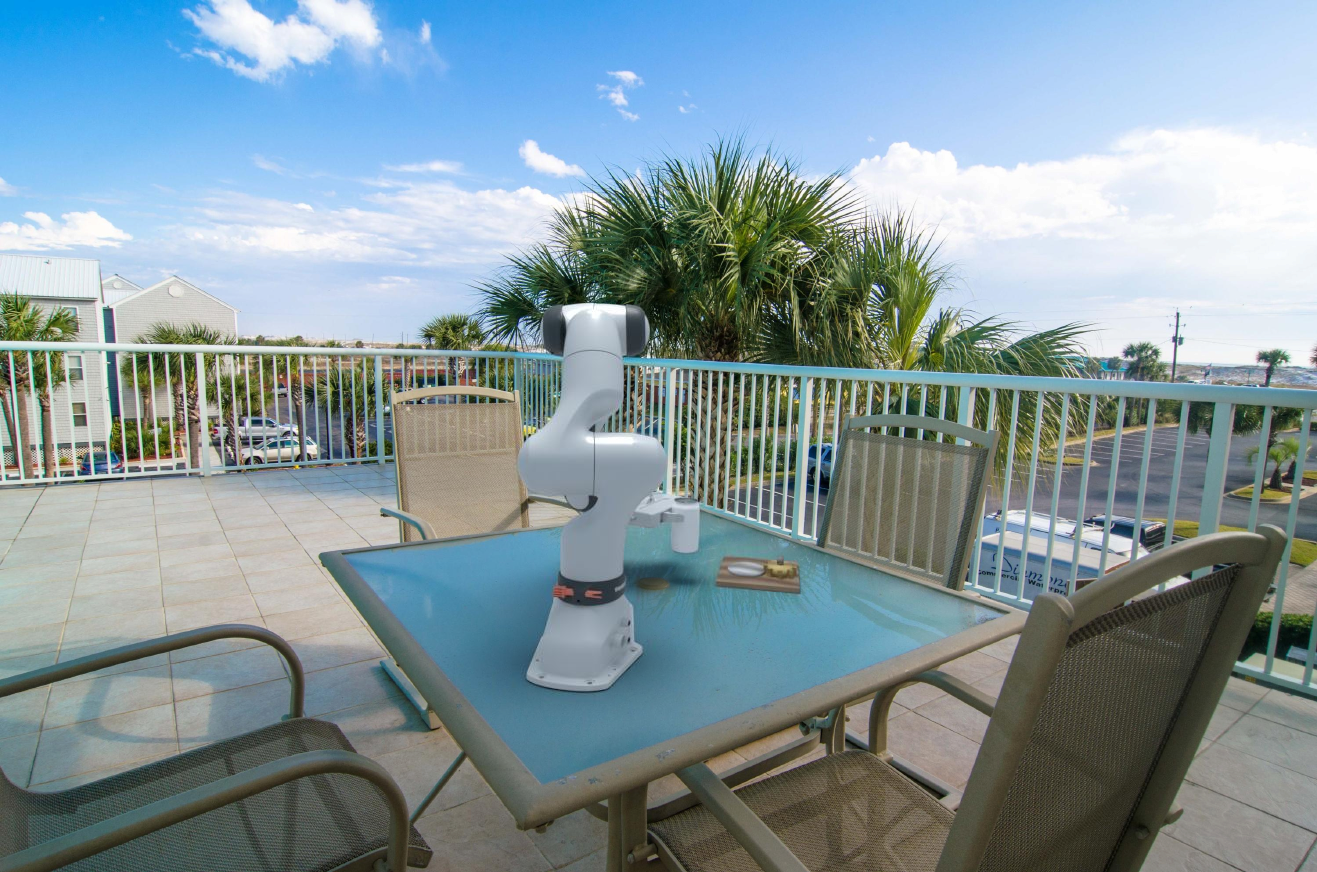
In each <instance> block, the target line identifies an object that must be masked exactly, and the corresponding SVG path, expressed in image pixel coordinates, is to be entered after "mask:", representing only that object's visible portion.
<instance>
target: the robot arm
mask: <svg viewBox="0 0 1317 872" xmlns="http://www.w3.org/2000/svg"><path fill="white" fill-rule="evenodd" d="M650 333H651V331H650V323H649V319H648V317H647V315H646V313H645V311H644V309H642V307H640V306H638V305H634V304H628V303H627V304H625V305H622V304H612V303H611V304H610V303H594V302H584V303H574V304H567V305H563V304H557V305H552V306H550V307H548V308H546V310H545V311H544V312H543V315H542V319H541V322H540V325H539V334H540V338H541V343H542V344H543V346H544V349H545V350H546V352H547V353H549V354H550V355H551V356H554V357H555V356H556V357H561V358H562V377H561V378H562V381H561V382H562V383H561V392H560V398H559V403H558V405H557V408H556V410H555V412H554V413H553V415H552V417H551V418H550V420H548V422H547V423H546V424H545V425H544V426H543V427H542V428H540V429H539V430H538V431H537V432H535V433H534V434H532V435H530V436H529V437H528V438H527V439H526V440H525V441H524V442H523V444H522V445H521V447H520V449H519V452H518V455H517V458H516V459H517V461H516V462H517V463H516V464H517V465H516V466H517V472H518V475H519V478H520V480H521V482H522V484H523V485H524V487H526V488H527V489H528V490H529V491H531V492H536V493H541V494H546V495H550V496H564V499H565V501H566V504H568V505H569V506H570V507H571V508H572V509H573V510H575V511H577V512H579V514H578V515H576V516H574V517H573V518H572V519H570V520H568V522H567V523H565V525H564V526H563V527H562V530H561V533H560V569H559V570H558V573H557V579H556V584H555V585H554V586H553V590H552V597H553V601H552V602H553V603H552V605H551V608H550V611H549V615H548V619H547V621H546V624H545V628H544V631H543V635H542V636H541V638H540V640H539V642H538V645H537V648H536V649H535V652H534V654H533V657H532V659H531V661H530V664H529V666H528V669H527V672H526V677H525V679H526V680H527V681H529V682H530V683H532V684H535V685H538V686H542V687H545V688H551V689H557V690H562V691H564V690H565V691H571V692H595V691H602V690H607V689H609V688H610V687H611V686H612V685H614V683H615V682H616V681H617V680H618V679H619V678H620V677H621V676H622V675H623V674H624V673H625V672H626V671H627V669H628V668H629V667H630V666H632V664H633V663H634V662H635V661H636V660H637V659H638V658H639V657H640V656H641V655H642V654H643V646H642V645H641V644H639V643H638V642H636V641H635V627H634V626H635V624H634V622H635V621H634V606H633V605H632V603H631V602H630V601H629V600H628V599H627V597H626V595H625V592H626V584H627V578H626V571H625V569H624V554H625V553H624V552H625V542H626V534H627V529H628V527H629V526H630V527H636V528H644V529H655V528H658V527H660V526H661V525H664V524H666V523H672V522H684V515H682V514H676V513H672V505H673V503H674V499H675V498H681V497H682V496H678V495H673V494H668V493H660V491H659V490H657V489H658V488H660V486H661V485H662V484H663V482H664V480H665V478H666V475H667V471H668V456H667V454H666V451H665V449H664V446H663V445H662V443H661V442H660V441H659V440H658V439H657V438H656V437H653V436H650V435H649V436H648V435H644V434H640V433H634V432H607V431H606V432H604V431H603V432H601V431H602V429H603V426H604V425H605V423H606V422H607V420H608V419H609V418H610V417H611V416H612V415H614V414H615V413H616V412H617V411H618V410H619V409H620V407H621V406H622V405H623V402H624V396H625V395H624V388H625V387H624V384H625V382H624V381H625V377H624V372H625V371H624V362H623V361H624V360H623V359H624V358H623V357H624V356H626V357H627V358H628V357H635V356H638V355H640V354H641V353H642V352H644V351H645V349H646V347H647V344H648V342H649V338H650Z"/></svg>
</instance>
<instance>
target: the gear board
mask: <svg viewBox="0 0 1317 872" xmlns="http://www.w3.org/2000/svg"><path fill="white" fill-rule="evenodd" d="M784 559H785V556H784V555H781V554H778V555H776V559H768V558H756V557H755V558H754V557H744V556H733V555H732V556H731V555H723V557H722V560H721V564H720V566H719V570H718V573H717V576H716V580H715V587H721V588H722V587H723V588H734V589H735V588H736V589H745V590H747V589H748V590H756V591H757V590H758V591H766V592H767V591H768V592H779V593H780V592H781V593H788V594H791V593H792V594H800V592H801V591H800V590H801V588H800V587H801V586H800V573H799V561H793V560H784Z"/></svg>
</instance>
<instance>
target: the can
mask: <svg viewBox="0 0 1317 872" xmlns="http://www.w3.org/2000/svg"><path fill="white" fill-rule="evenodd" d="M680 497H681V498H675V499H674V503H673V505H672V513H676V514H682V515H684V522H670V523H671V526H670V527H671V530H670V533H671V534H670V549H671V551H672V552H674V553H677V554H684V555H685V554H694V553H697V552H698V550H699V545H700V544H699V541H700V539H699V538H700V512H701V511H700V503H699V499H697V498H694V497H685V496H680Z"/></svg>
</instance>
